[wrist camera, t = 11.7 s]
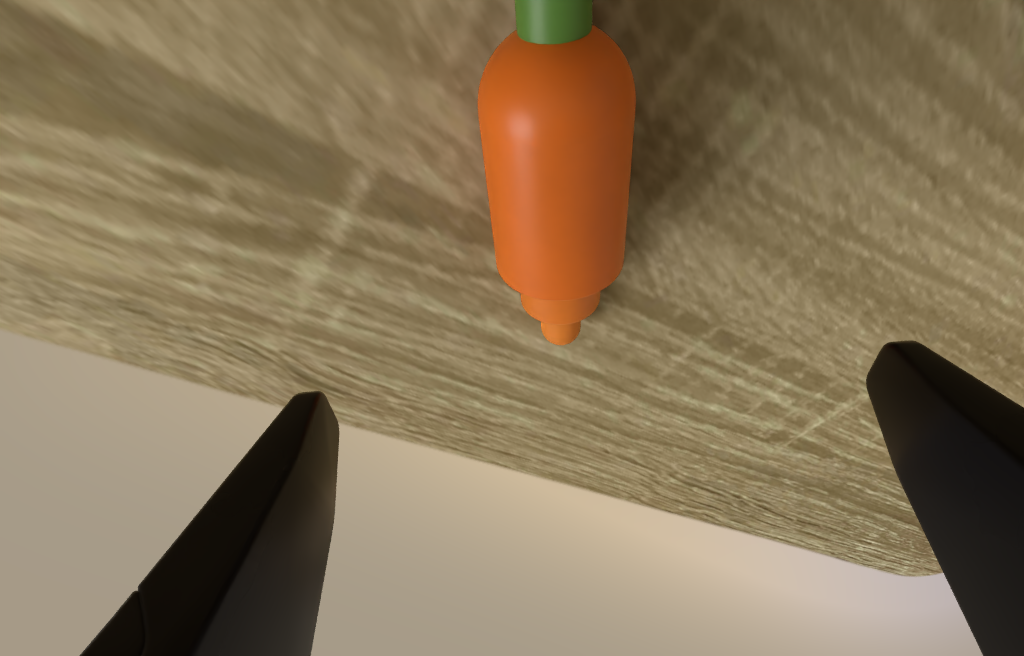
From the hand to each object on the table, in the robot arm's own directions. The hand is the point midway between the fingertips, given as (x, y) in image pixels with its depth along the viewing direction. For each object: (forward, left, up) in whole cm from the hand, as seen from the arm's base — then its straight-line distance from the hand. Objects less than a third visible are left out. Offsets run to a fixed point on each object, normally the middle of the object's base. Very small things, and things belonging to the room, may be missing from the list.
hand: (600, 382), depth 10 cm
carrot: (0, 0, -7) cm, 7 cm away
